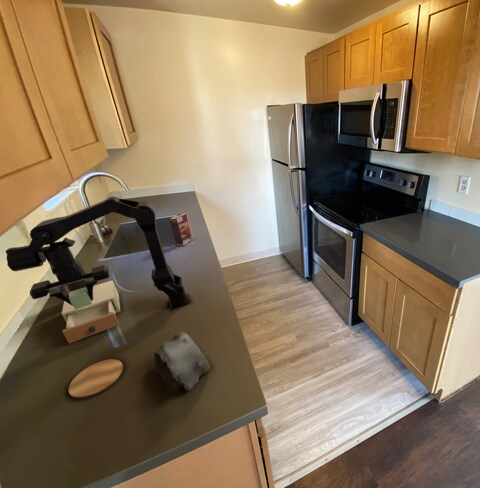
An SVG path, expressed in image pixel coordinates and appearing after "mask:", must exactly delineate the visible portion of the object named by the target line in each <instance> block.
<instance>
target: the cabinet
mask: <svg viewBox="0 0 480 488" xmlns="http://www.w3.org/2000/svg"><path fill="white" fill-rule="evenodd" d="M68 294H70V292H69V293H68ZM109 300H112V301H113V303H114V305H115V314H118V313H120V312H121V303H120V296H119V292H118V290H117V288H116V285H115V283H114V281H113V280H109V281H106V282H102V283H99V284H94V286H93V300H92V304H90V305H87V306H84V307H81V308H78V309H74V307H73V306H72V305H70V304H68V303H67V302H65V301H63V305H62V310H61V315H62V317H63V319H64V321H65V323H67V319H68V314H70V313H73V312H76V311H79V310H82V309H85V308H88V307H91V306H94V305H97V304H100V303H103V302H106V301H109Z"/></svg>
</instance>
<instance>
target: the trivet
mask: <svg viewBox="0 0 480 488" xmlns="http://www.w3.org/2000/svg"><path fill="white" fill-rule="evenodd" d="M123 365H124V364H123V362H121V360H118V359H115V358H109V359H104V360H101V361H98V362H95V363H92V364H91V365H89V366H87V367H86V368H84V369H83V370H82V371H80V372H79V373H78V374H77V375H76V376H75V377H74V378H73V379H72V381H71V382H70V383H69V386H68V394H69V395H70V396H71V397H72V398H74V399H85V398H89V397H93V396H95V395H97V394H99V393H101V392H103V391H105V390H106V389H107V388H109V387H110V386H111V385H113V384H114V383H115V382H116V381H117V380H118V379H119V378H120V376H121V374H122V373H123V370H124V366H123Z"/></svg>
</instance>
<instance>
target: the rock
mask: <svg viewBox="0 0 480 488" xmlns="http://www.w3.org/2000/svg"><path fill="white" fill-rule="evenodd" d="M153 358H154V369H155V372H156V373H157V375H158V376H159V377H161V378H162V379H163V382H164V385H165V386H166V388H167V390H168V391H169V392H170V394H173V395H174V394H176V393H177V392H178V391H179V389H181V388H184V390H185V391H191V390H192V389H193V388H194V386H195V385H196V384H197V383H198V382H200V377H201V376H202V375H203V374H205V373H207V372H208V371H209V370H211V369H212V366H211V365H210V363H209V361H208V360H207V358H206V357H205V355H204V353H203V352H202V350H200V349H199V346H198V345H197V344H196V343H195V342H194V340H193V339H192V338H191V336H190V335H189V334H188V333H187V332H183V331H181V332H177V333H176V334H174V336H173V337H172V338H170V339H168V340H166V341H164V342H162V344H161V345H160V346H159V349H156V350H155V351H154V354H153Z"/></svg>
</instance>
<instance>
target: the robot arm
mask: <svg viewBox="0 0 480 488" xmlns="http://www.w3.org/2000/svg"><path fill="white" fill-rule="evenodd" d="M111 213H115V214H119V215H121V216H124V217H126V218H129V219H134V220H135V221H136V223H137V225H138V227H139V228H140V229H141V231H142V232H143V234H144V238H145V240H146V241H145V242H146V243H147V246H148V247H147V248H148V250H149V254H150V257H151V259H152V262H153V267H154V269H151V277H150V278H151V280H152V282H153V287H154V288H156V289H157V290H158V291H160V292H163V293H164V294H165V295H166V296H167V297H168V303H169V306H170V309H171V310H174V309H177V308H180V307H182V306H184V305H187V304H190V303H191V301H190V299H189V297H188V295H187V293H186V291H185V288H184V285H183V279H182V276H179V275H177V274H175V273H174V272H173V270H172V268H171V266H170V265H169V263H168V262H167V260H166V256H165V252H164V249H163V245H162V242H161V238H160V235H159V232H158V229H157V215H156V207H155V205H154V204H153V203H152V202H150V201H145V200H144V201H137V200H133V199H125V198H120V197H117V196H109V197H107V198H106V199H104V200H102V201H100V202H97V203H94V204H92V205H90V206H87V207H85V208H83V209H81V210H78V211H75V212H73V213H71V214H68V215H65V216H58V217H54V218H50V219H45V220H42V221H40V222H39V223H38V224H37V225H36V226H34V227H33V228H32V229H30V232H29V237H30V239H31V240H30V243H29V244H28V245H23V246H16V247H15V246H14V247H9V248H7V249H6V250H5V254H6V262H7V263H6V264H7V265H6V266H7V267H8V268H9V269H10V270H11V271H12V272H20V271H25V270H29V269H34V268H39V267H42V266H43V265H44V263H46V262H47V263H48V264H49V266H50V270H51V273H52V275H53V276H55V277H56V279H57V281H54V282H51V280H49V279H47V280H43V281H39V282H35V283H33V284H32V286H31V287H30V290H29V295H30V297H31V299H32V300H37V299H41V298H45V297H47V296H48V295H49V298H52V297H55V298H57V299H59V300H61V301H63V302H64V301H65V302H67V303H68V304H70V305H72V303H71V302H70V300H69V293H68V291H67V290H66V287H67V286H66V285H69V284H73V283H76V282H80V281H83V280H85V281H86V288H87V291H88V294H89V297H90V298H91V300H93V286H95V285H98V282H99V281H103V280H105V279H108V278H110V270H109V268H108V266H107V265H105V264H102V265H99V266H95V267H92V268H91V271H89V272H85V273H86V274H82V273H83V270H82V267H83V266H82V267H81V265H82V264H81V265H80V263H81V261H80V262H76V261H75V259H76V258H75V257H73V256H74V254H73V252H72V250H71V249H70V248H71V247H73V246H75V243H76V242H77V241H76V240H74V239H70V238H68V237H65V236H66V235H68V234H69V233H70V232H72V231H73V230H75V229H77V228H79V227H82V226H84V225H86V224H89V223H90V222H91V223H92V222H93V221H96V220H98V219H100V218H102V217H104V216H105V217H106V216H107V215H110V214H111ZM63 237H64V238H63ZM62 238H63V239H62ZM61 239H62V240H61ZM59 240H60V241H59ZM70 250H71V251H70ZM71 252H72V253H71ZM72 254H73V255H72ZM65 286H66V287H65ZM72 306H73V305H72Z"/></svg>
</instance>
